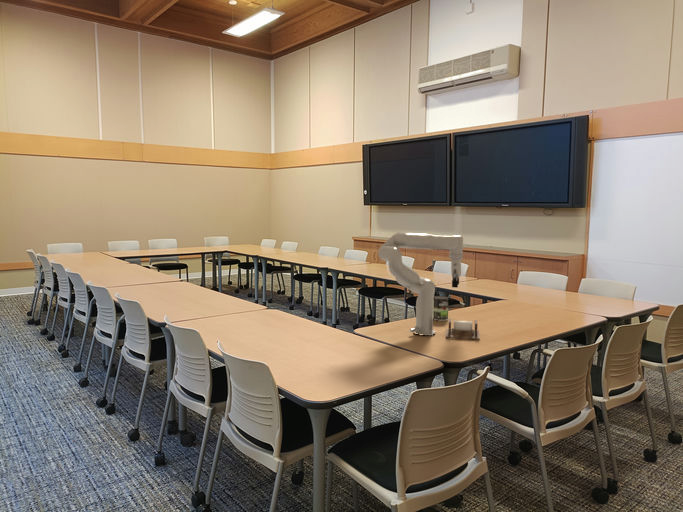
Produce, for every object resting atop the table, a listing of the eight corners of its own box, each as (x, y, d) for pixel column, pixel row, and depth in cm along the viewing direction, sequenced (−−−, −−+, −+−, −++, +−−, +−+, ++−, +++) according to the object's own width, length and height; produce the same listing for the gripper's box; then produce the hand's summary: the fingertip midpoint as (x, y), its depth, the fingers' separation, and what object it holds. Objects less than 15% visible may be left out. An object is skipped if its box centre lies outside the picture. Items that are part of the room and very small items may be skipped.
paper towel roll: (453, 331, 266) (453, 322, 265) (453, 328, 271) (453, 319, 270) (472, 332, 263) (472, 323, 263) (472, 329, 269) (472, 320, 268)
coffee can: (451, 320, 303) (451, 298, 301) (437, 321, 299) (438, 299, 297) (442, 316, 312) (442, 295, 310) (428, 318, 308) (429, 296, 307)
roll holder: (445, 338, 262) (446, 324, 261) (446, 330, 277) (446, 317, 276) (479, 340, 258) (480, 325, 257) (478, 332, 273) (479, 318, 272)
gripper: (461, 258, 267) (461, 288, 269) (463, 255, 283) (463, 283, 285) (447, 258, 269) (447, 288, 271) (450, 254, 285) (450, 283, 287)
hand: (455, 285), depth 278 cm, fingers open, 9 cm apart
